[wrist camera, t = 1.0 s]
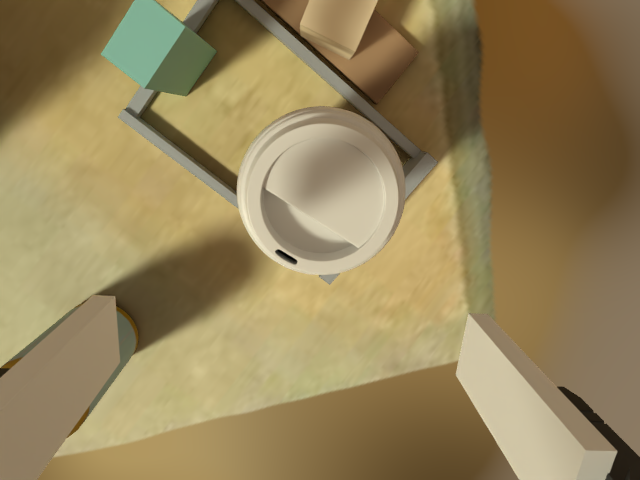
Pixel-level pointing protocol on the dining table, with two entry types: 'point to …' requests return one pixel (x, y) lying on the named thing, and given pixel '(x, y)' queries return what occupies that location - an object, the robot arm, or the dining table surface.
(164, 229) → the dining table surface
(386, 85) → the wooden l-shaped block
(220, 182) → the grey rectangular frame
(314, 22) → the maple block
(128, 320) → the bottle
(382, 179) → the coffee cup
